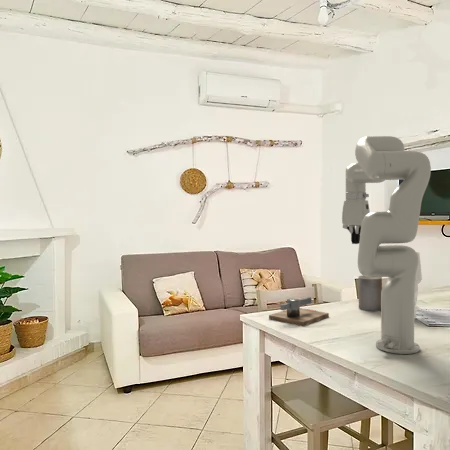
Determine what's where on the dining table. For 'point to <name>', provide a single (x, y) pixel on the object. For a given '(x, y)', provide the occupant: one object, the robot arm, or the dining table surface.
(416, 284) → the beer glass
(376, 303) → the pillar candle
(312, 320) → the dial stand
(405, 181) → the robot arm
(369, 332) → the dining table surface
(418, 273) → the champagne flute
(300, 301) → the capstan
